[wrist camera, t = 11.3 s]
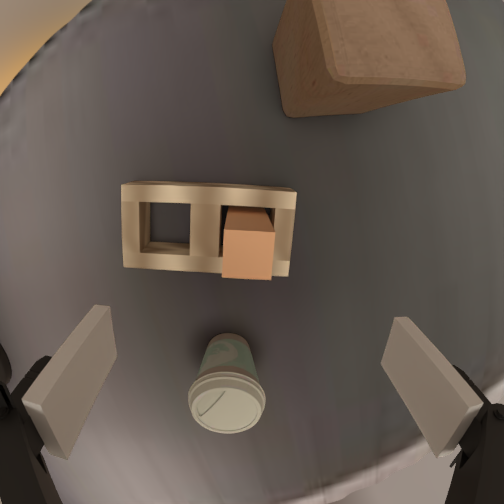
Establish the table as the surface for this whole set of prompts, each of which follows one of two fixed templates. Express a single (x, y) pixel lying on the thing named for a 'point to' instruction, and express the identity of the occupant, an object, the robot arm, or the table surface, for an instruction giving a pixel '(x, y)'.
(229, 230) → the peg
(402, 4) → the block
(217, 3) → the table surface
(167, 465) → the table surface
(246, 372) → the coffee cup
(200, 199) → the socket block
